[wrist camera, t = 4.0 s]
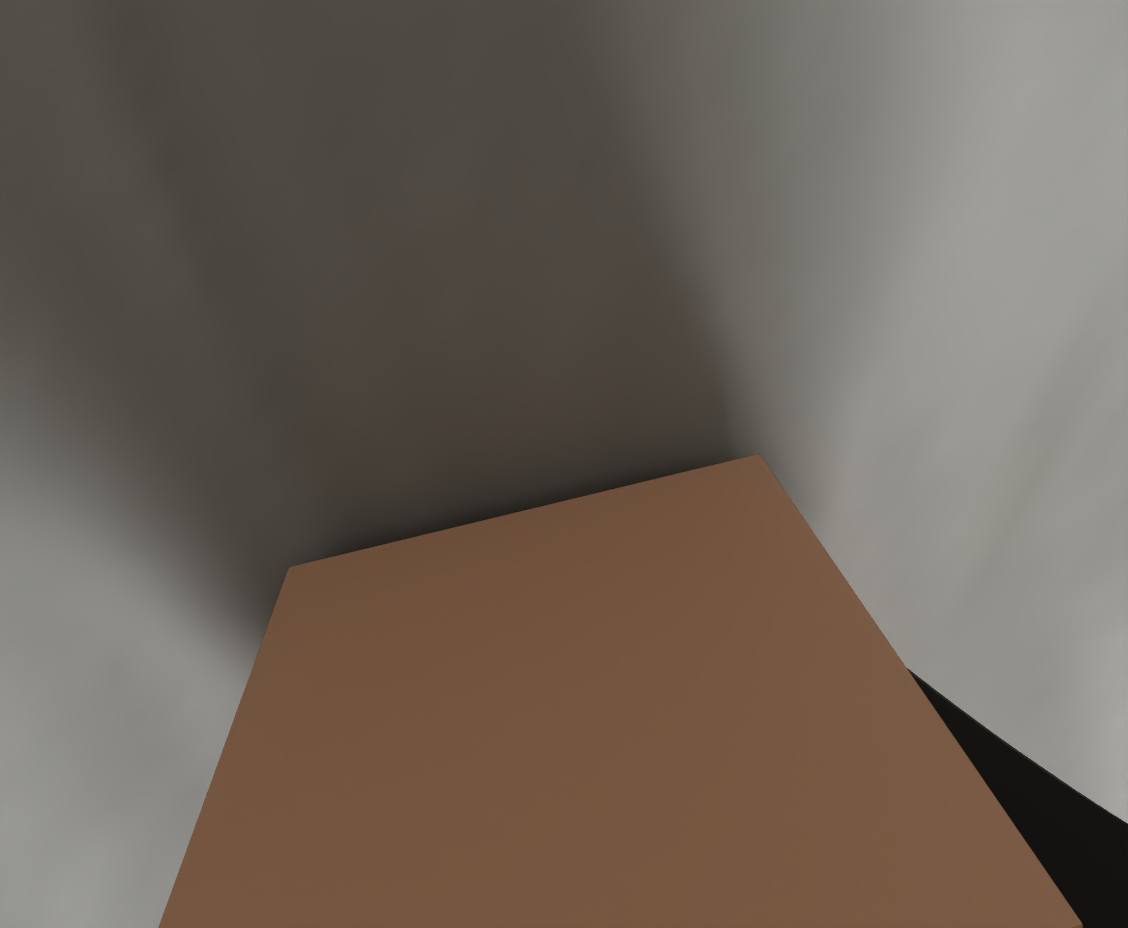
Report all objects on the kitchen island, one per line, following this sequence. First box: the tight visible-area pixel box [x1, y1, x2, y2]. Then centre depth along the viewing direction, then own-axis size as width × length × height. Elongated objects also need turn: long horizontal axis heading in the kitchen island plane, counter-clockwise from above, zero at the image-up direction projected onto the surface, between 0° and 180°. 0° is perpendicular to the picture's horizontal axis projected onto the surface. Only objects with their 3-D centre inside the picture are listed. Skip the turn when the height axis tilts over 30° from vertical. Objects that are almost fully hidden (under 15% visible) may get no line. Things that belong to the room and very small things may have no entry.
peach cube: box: [159, 454, 1083, 928], centre depth 9 cm, size 5×5×6 cm
